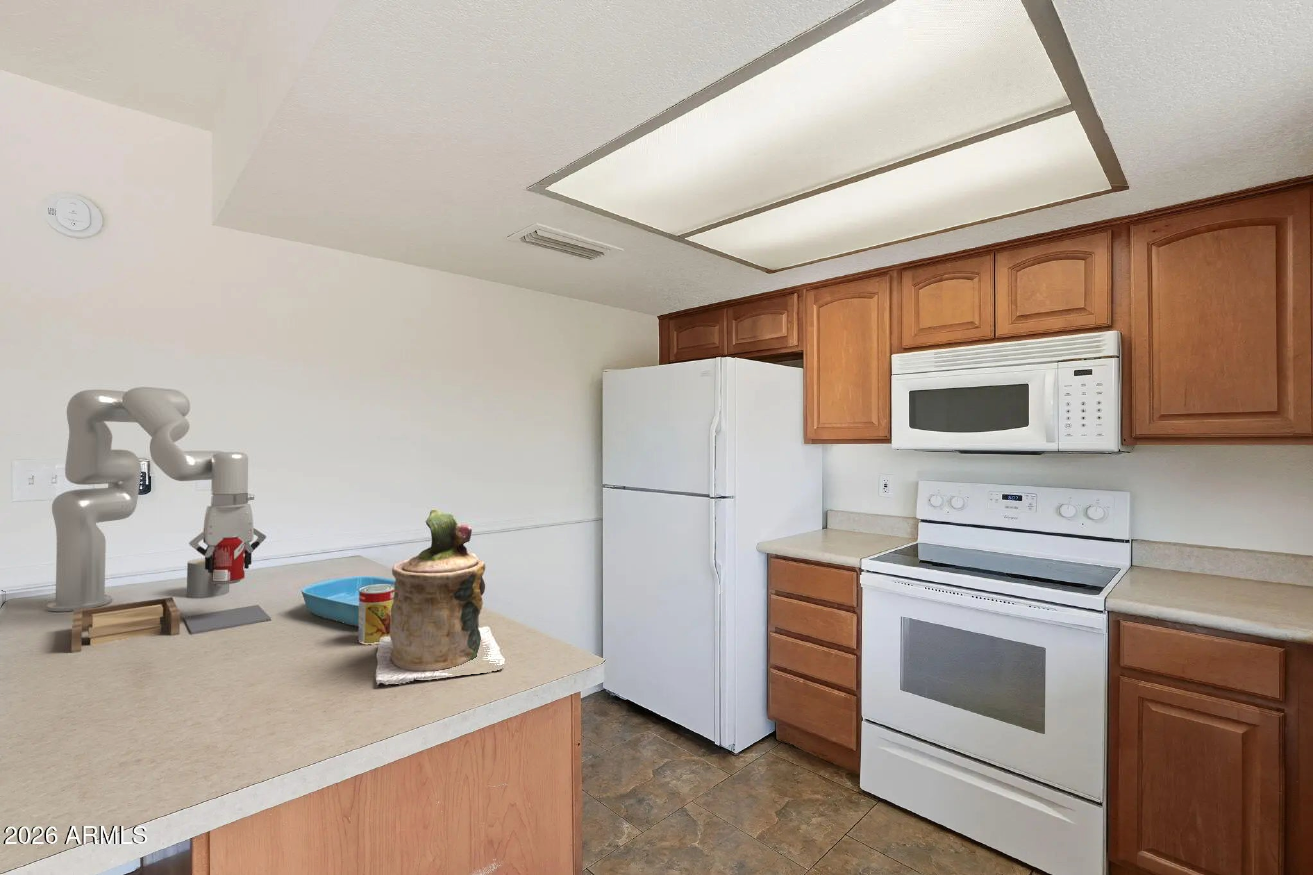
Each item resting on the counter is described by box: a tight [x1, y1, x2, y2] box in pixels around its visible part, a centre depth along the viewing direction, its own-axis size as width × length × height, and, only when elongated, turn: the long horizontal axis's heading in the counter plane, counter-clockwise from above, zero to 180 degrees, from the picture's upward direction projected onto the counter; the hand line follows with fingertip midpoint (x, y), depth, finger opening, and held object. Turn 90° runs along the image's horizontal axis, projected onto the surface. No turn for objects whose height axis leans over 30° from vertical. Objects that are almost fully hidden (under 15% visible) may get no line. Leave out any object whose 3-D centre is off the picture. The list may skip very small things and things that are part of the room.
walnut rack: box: [70, 596, 181, 653], centre depth 137 cm, size 18×18×5 cm
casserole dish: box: [300, 575, 395, 627], centre depth 155 cm, size 37×22×7 cm, turn 63°
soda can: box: [212, 536, 246, 585], centre depth 148 cm, size 7×7×12 cm
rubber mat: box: [183, 604, 272, 635], centre depth 148 cm, size 16×16×1 cm
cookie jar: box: [374, 508, 506, 686], centre depth 125 cm, size 25×25×32 cm
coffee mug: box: [186, 557, 230, 599], centre depth 171 cm, size 13×10×10 cm
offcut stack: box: [87, 605, 163, 646], centre depth 135 cm, size 4×13×6 cm, turn 135°
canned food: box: [357, 584, 395, 643], centre depth 136 cm, size 8×8×12 cm
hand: (228, 569), depth 148 cm, fingers closed on soda can, 6 cm apart
